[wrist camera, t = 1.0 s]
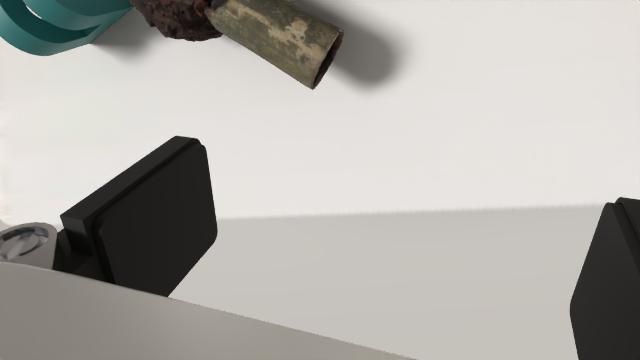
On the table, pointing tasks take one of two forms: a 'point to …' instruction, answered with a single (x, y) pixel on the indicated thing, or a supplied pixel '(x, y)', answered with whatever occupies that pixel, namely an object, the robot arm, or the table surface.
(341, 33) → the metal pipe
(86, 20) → the bracket
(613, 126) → the table surface
